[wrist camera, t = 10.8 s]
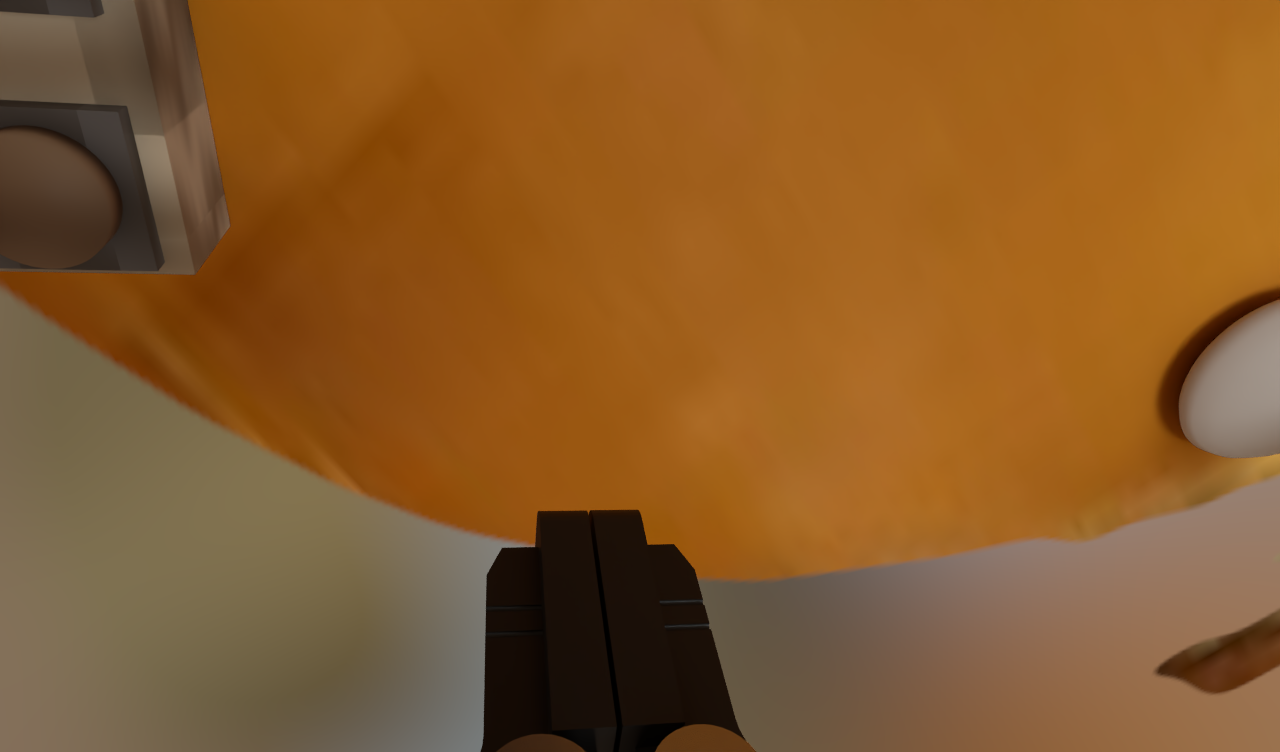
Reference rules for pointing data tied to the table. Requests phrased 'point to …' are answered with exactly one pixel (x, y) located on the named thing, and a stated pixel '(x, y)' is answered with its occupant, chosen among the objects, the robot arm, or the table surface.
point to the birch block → (122, 120)
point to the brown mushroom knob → (53, 199)
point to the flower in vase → (1236, 389)
